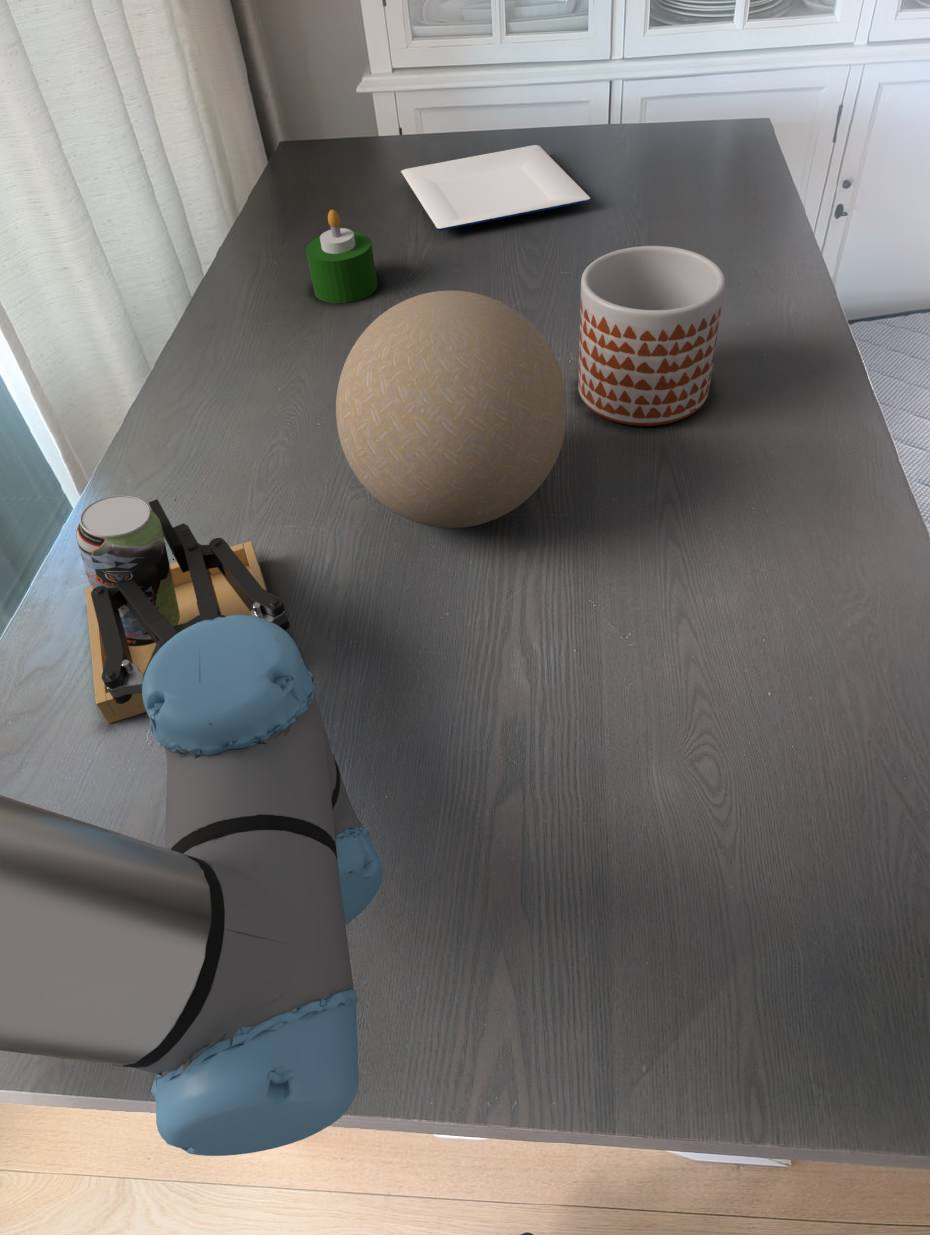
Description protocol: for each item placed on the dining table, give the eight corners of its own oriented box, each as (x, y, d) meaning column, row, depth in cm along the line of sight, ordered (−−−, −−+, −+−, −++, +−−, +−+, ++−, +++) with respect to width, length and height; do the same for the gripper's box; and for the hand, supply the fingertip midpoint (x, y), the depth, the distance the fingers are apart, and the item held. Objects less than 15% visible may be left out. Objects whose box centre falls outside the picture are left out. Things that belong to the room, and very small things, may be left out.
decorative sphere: (379, 597, 77) (338, 399, 63) (339, 463, 91) (298, 274, 76) (597, 543, 80) (607, 341, 65) (527, 421, 93) (522, 230, 79)
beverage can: (97, 627, 74) (36, 518, 65) (177, 583, 77) (128, 473, 68) (129, 670, 71) (69, 561, 62) (211, 623, 74) (165, 513, 65)
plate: (590, 212, 126) (591, 197, 125) (438, 242, 123) (437, 227, 122) (538, 157, 141) (538, 143, 140) (401, 182, 138) (400, 168, 137)
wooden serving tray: (108, 724, 70) (95, 703, 68) (96, 608, 79) (85, 587, 77) (289, 667, 73) (283, 645, 71) (258, 561, 81) (251, 540, 80)
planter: (611, 441, 90) (618, 325, 80) (558, 374, 99) (559, 262, 90) (733, 408, 92) (753, 292, 83) (670, 345, 101) (682, 234, 92)
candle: (328, 270, 120) (313, 194, 113) (386, 274, 118) (375, 196, 111) (304, 300, 115) (287, 222, 107) (364, 305, 113) (351, 226, 105)
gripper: (134, 806, 58) (56, 594, 73) (354, 699, 63) (240, 519, 78) (90, 740, 53) (15, 524, 67) (335, 628, 58) (216, 449, 72)
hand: (136, 522), depth 73 cm, fingers closed on beverage can, 3 cm apart
